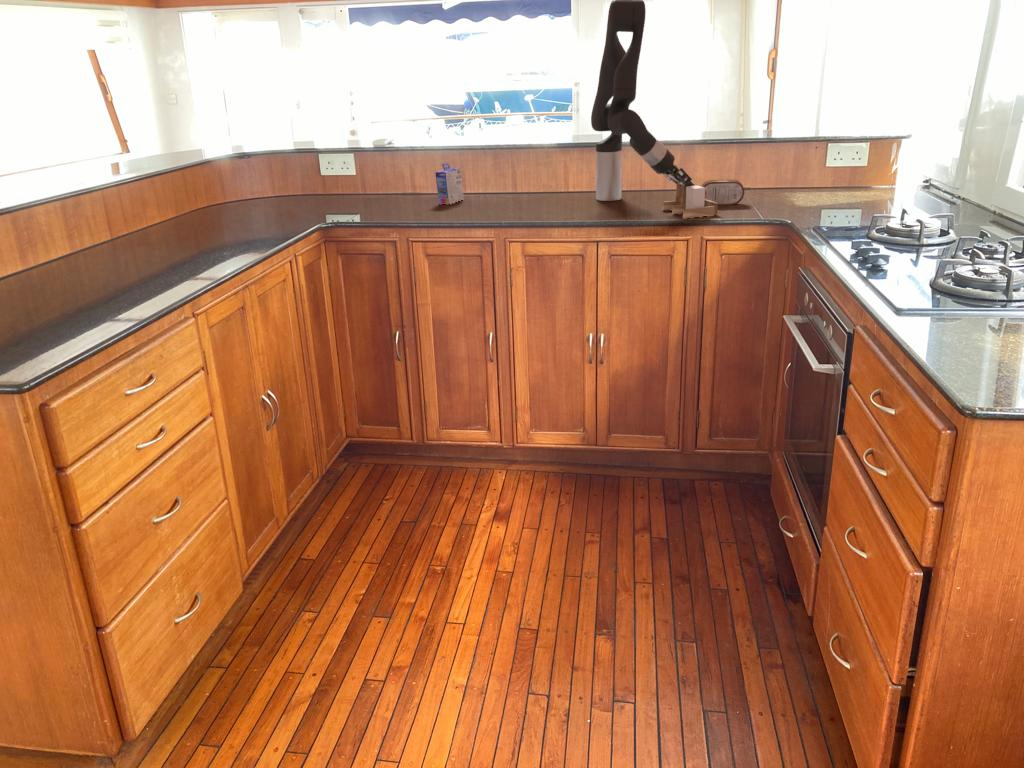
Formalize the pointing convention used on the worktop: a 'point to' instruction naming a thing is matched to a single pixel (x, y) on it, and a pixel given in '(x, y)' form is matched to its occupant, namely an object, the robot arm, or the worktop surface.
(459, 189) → the ink cartridge box
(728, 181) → the tin
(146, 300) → the worktop surface
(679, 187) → the tan block
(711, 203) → the rack
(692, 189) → the white block
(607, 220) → the worktop surface
